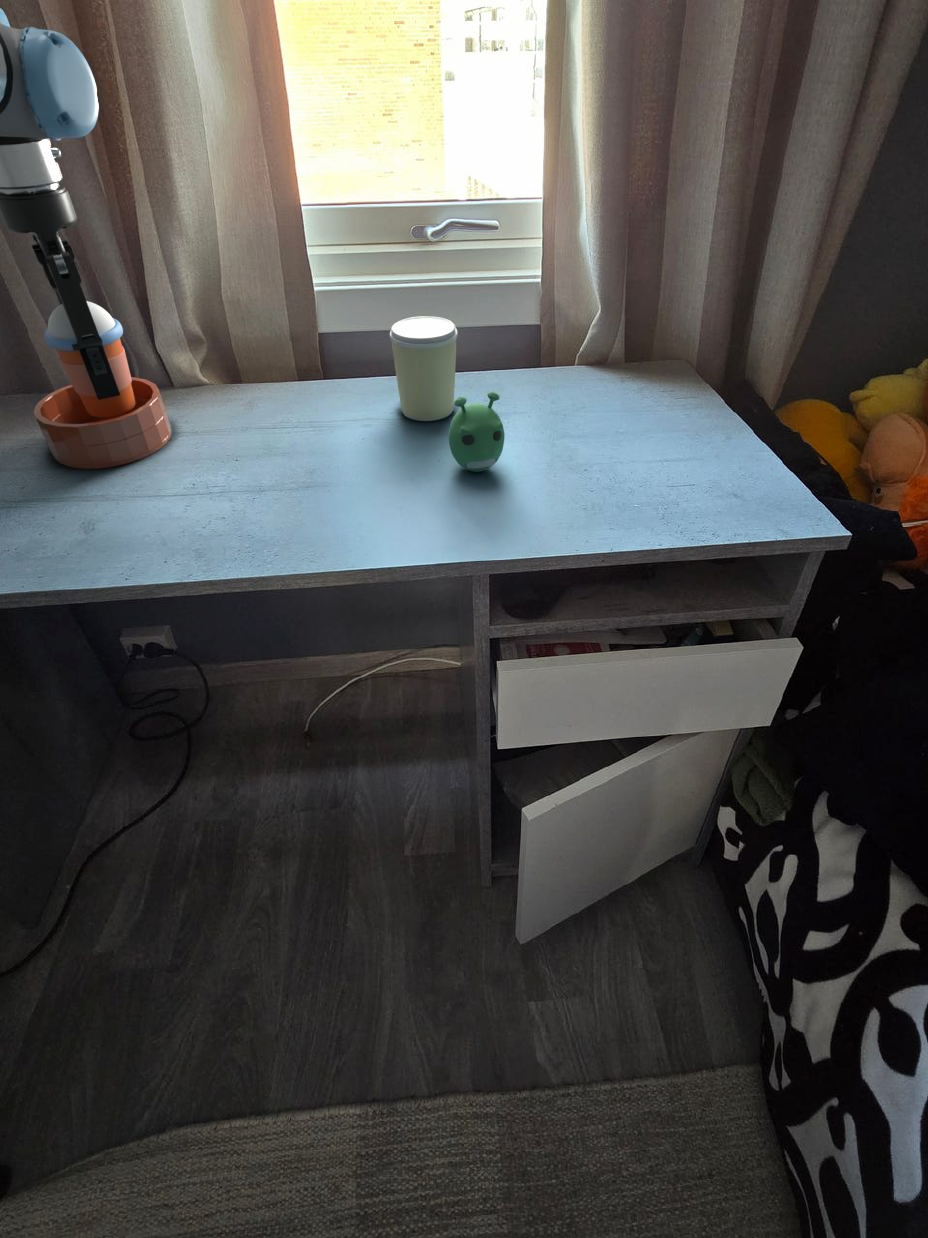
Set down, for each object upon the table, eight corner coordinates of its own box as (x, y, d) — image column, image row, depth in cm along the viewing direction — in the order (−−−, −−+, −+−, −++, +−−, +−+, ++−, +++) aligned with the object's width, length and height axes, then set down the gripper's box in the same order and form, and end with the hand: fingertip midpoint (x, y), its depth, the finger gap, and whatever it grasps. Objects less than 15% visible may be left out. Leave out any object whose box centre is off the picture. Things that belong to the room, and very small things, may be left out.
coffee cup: (429, 390, 107) (425, 310, 99) (471, 408, 102) (471, 325, 94) (383, 410, 102) (375, 327, 94) (425, 430, 97) (421, 344, 89)
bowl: (61, 480, 88) (41, 437, 84) (46, 432, 98) (28, 392, 94) (183, 449, 94) (170, 407, 90) (157, 407, 104) (145, 368, 100)
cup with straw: (157, 409, 93) (110, 264, 81) (89, 429, 89) (28, 280, 77) (132, 388, 99) (85, 250, 87) (67, 406, 94) (7, 263, 82)
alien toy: (459, 488, 86) (457, 412, 79) (443, 459, 91) (441, 386, 84) (512, 480, 87) (515, 404, 80) (494, 451, 92) (495, 379, 86)
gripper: (79, 199, 71) (149, 406, 86) (53, 169, 85) (116, 351, 100) (-2, 208, 68) (85, 421, 83) (-15, 175, 82) (61, 362, 97)
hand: (102, 383), depth 92 cm, fingers closed on cup with straw, 9 cm apart
